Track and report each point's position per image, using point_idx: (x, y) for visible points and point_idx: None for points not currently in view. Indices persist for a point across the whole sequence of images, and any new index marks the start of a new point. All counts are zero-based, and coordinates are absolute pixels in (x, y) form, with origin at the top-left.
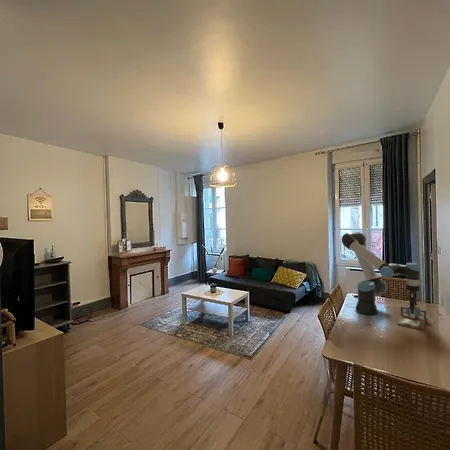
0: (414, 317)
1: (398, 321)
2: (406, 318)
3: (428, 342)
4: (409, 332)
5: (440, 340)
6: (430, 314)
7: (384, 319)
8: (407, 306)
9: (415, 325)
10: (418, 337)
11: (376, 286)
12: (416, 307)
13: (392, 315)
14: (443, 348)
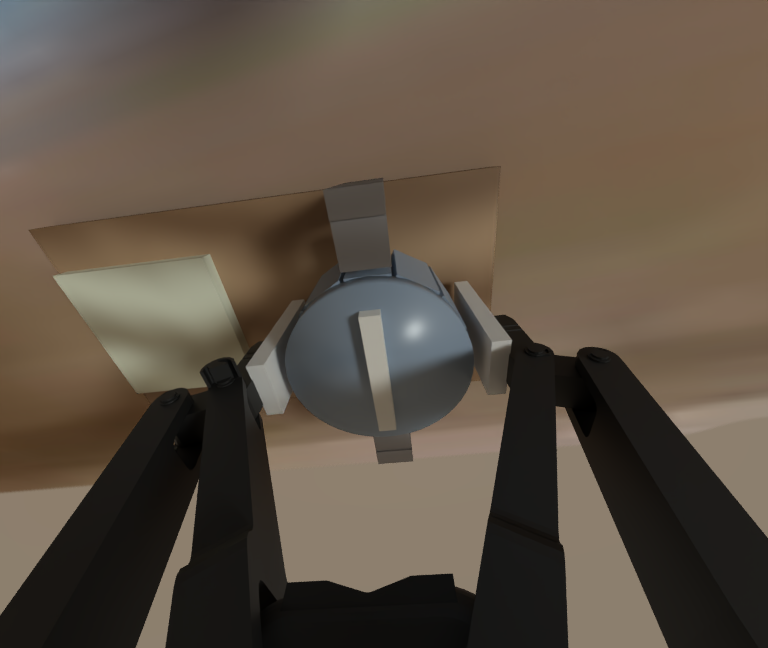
0: None
1: (83, 225)
2: (269, 267)
3: (9, 440)
4: (16, 342)
5: None
6: None
7: (37, 12)
8: (373, 301)
9: (124, 374)
10: (8, 397)
11: None
12: (381, 414)
13: (316, 63)
14: (27, 485)
